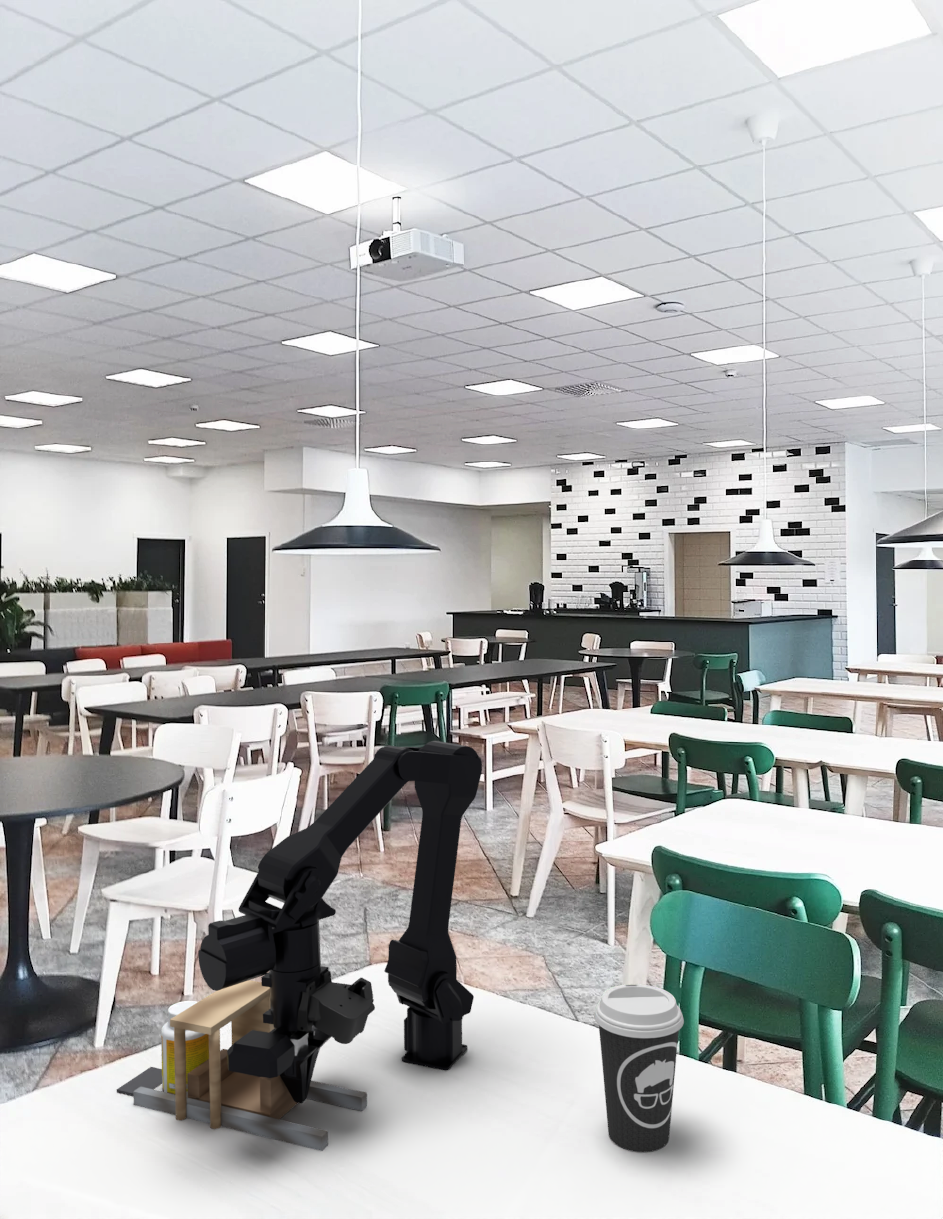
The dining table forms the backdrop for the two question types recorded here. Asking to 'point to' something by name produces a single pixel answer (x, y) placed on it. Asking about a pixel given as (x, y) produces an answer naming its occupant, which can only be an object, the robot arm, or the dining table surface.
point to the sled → (242, 1090)
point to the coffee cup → (638, 1063)
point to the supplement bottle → (194, 1048)
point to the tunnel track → (245, 1015)
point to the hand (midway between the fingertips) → (300, 1101)
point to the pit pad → (143, 1081)
